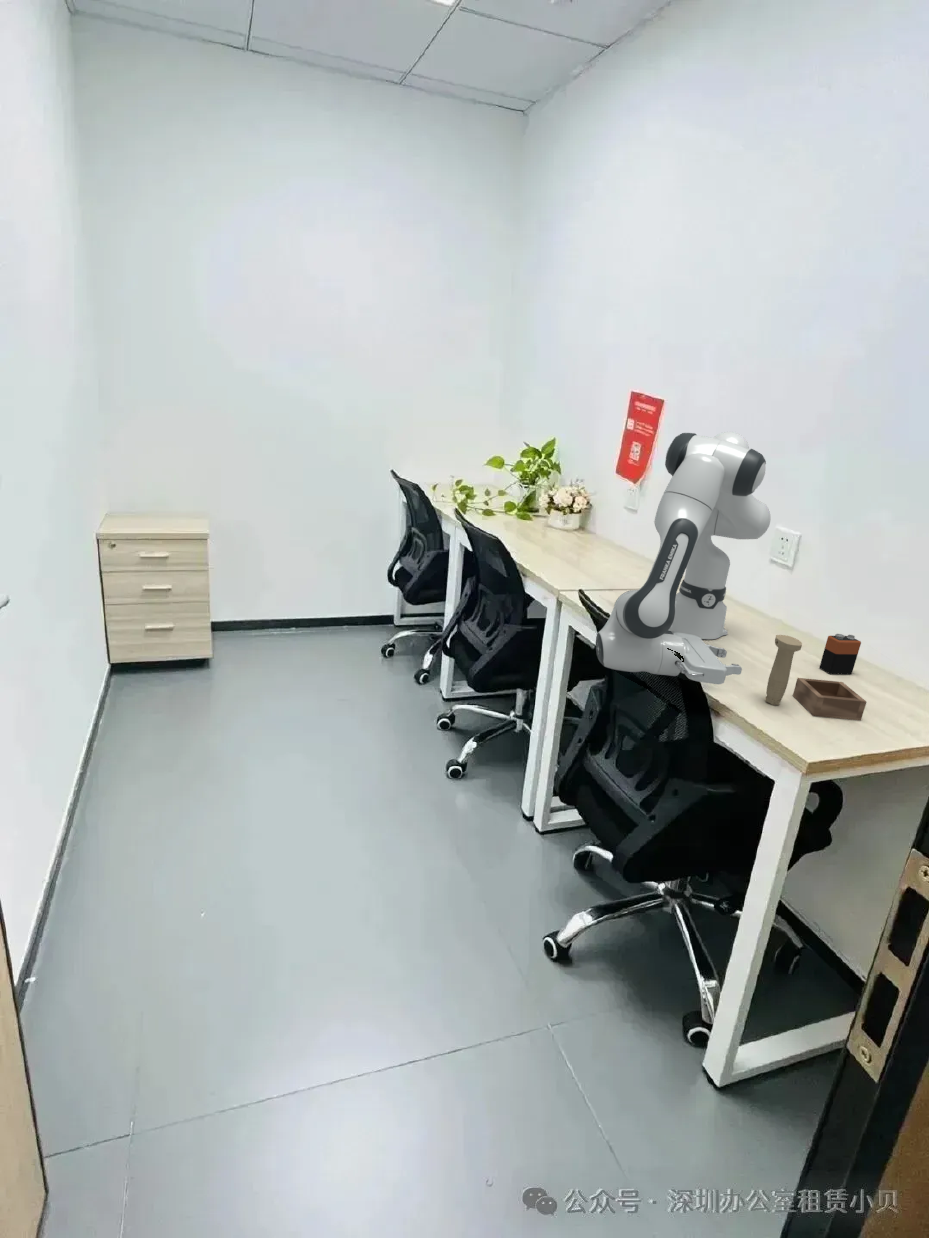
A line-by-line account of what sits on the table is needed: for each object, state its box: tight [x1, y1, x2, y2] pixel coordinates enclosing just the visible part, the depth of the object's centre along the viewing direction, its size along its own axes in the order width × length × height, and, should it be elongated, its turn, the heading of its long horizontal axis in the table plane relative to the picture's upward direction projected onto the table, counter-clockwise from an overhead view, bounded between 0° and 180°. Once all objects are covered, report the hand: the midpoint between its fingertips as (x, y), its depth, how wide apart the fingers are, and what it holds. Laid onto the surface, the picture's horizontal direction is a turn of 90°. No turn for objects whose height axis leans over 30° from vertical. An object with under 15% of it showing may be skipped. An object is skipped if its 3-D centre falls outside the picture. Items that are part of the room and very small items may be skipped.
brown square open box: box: [792, 677, 867, 721], centre depth 154 cm, size 10×10×4 cm
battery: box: [819, 633, 862, 675], centre depth 176 cm, size 4×7×10 cm, turn 102°
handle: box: [765, 634, 803, 706], centre depth 152 cm, size 5×6×15 cm
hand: (732, 661), depth 152 cm, fingers open, 8 cm apart
